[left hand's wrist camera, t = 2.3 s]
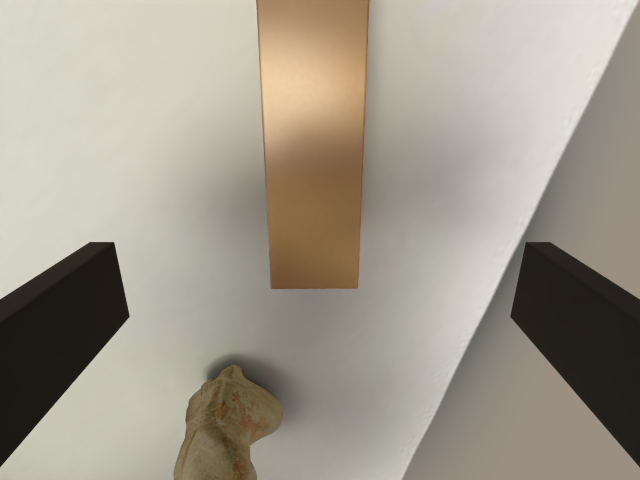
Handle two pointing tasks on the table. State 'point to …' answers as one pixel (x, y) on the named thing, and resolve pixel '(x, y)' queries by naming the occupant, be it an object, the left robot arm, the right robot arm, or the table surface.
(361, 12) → the bar
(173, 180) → the table surface
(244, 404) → the sculpture
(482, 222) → the table surface
